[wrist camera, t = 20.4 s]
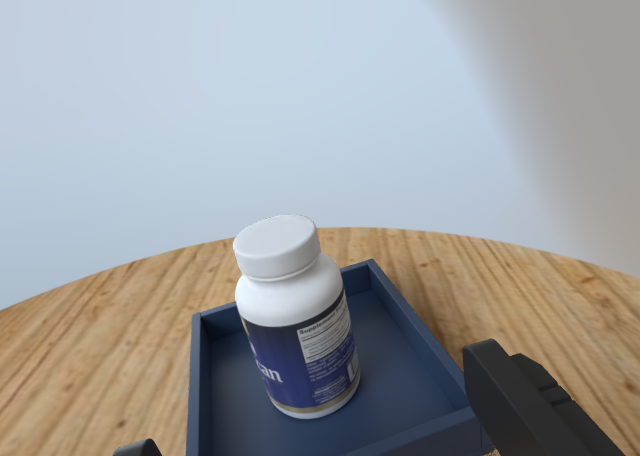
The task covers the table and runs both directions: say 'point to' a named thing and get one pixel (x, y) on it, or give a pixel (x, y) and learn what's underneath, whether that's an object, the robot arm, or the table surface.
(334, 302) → the pill bottle
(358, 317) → the blue tray
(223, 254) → the table surface
